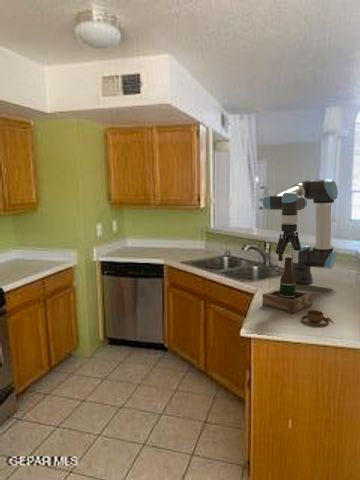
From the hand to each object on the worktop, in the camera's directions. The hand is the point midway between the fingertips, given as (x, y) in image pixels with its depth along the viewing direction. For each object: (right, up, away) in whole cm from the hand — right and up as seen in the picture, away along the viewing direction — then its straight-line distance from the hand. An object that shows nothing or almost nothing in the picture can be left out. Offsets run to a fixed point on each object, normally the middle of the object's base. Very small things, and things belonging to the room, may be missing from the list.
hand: (288, 264), depth 192 cm
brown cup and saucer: (+5, -25, -18) cm, 31 cm away
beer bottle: (0, -20, +3) cm, 20 cm away
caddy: (0, -21, +3) cm, 21 cm away
